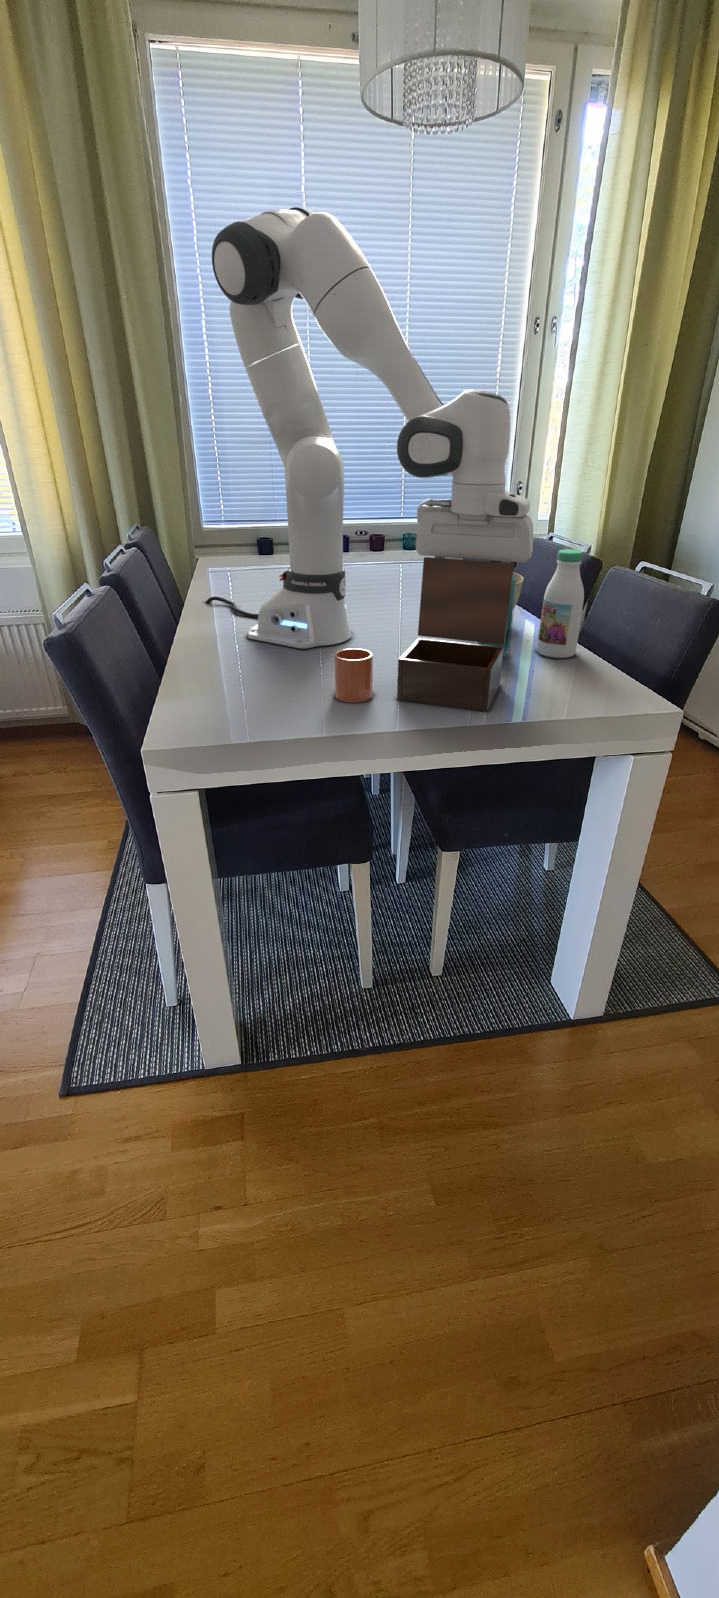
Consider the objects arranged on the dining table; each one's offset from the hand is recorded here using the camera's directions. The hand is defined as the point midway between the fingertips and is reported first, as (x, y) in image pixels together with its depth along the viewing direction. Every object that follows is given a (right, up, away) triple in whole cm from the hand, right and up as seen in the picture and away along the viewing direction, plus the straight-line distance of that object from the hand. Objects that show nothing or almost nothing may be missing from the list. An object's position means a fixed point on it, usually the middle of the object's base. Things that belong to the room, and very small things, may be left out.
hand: (470, 584), depth 124 cm
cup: (-21, -20, -3) cm, 29 cm away
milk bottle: (+20, -9, +18) cm, 28 cm away
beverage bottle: (+7, -10, +16) cm, 20 cm away
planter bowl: (+8, +1, +35) cm, 36 cm away
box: (-4, -20, -2) cm, 20 cm away
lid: (-2, -4, -3) cm, 5 cm away
